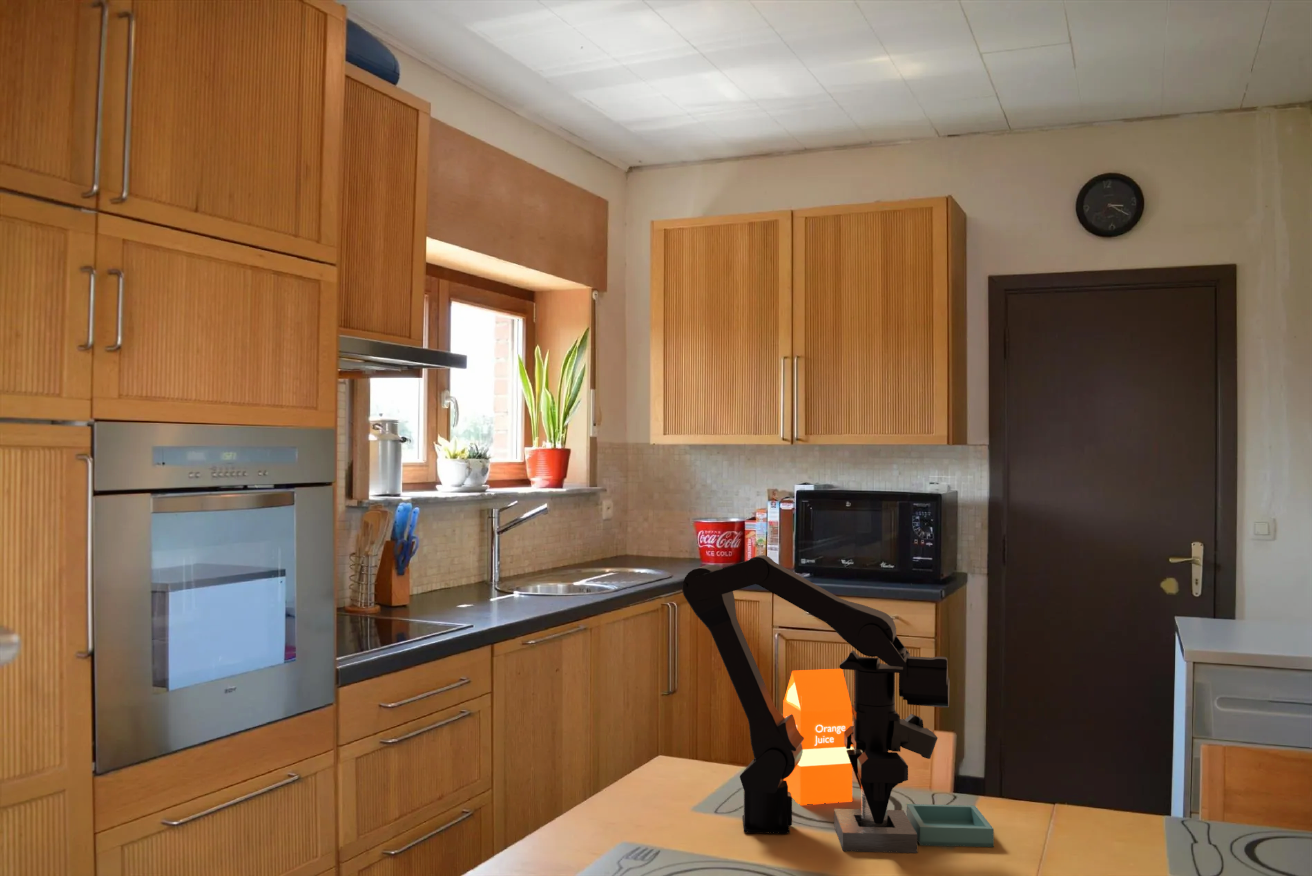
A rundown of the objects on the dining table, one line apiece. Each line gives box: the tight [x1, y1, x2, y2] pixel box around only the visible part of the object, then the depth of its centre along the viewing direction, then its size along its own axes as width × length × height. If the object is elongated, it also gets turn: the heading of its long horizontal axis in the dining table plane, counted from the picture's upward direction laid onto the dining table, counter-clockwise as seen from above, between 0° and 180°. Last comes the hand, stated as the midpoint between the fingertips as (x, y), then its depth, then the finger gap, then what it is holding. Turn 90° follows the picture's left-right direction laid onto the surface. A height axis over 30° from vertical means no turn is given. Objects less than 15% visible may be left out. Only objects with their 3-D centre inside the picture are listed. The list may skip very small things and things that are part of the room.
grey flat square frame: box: [833, 808, 918, 854], centre depth 147 cm, size 10×10×2 cm
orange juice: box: [782, 668, 853, 806], centre depth 166 cm, size 8×9×20 cm
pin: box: [860, 786, 888, 827], centre depth 147 cm, size 4×4×8 cm
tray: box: [906, 803, 995, 848], centre depth 149 cm, size 10×10×2 cm
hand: (874, 813), depth 147 cm, fingers open, 8 cm apart
